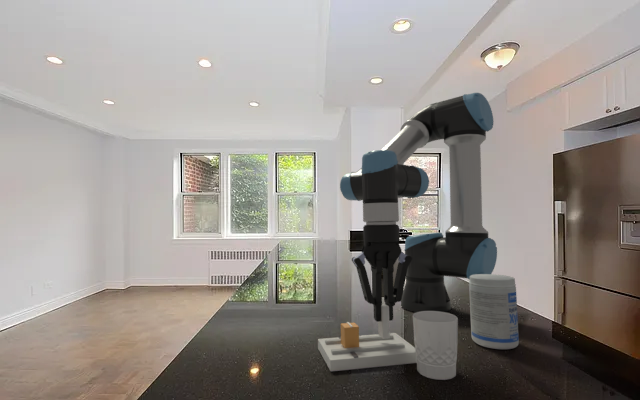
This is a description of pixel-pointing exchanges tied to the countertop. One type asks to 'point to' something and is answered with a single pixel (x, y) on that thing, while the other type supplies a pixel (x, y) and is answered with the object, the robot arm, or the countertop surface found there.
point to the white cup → (436, 344)
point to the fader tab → (349, 335)
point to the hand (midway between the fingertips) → (384, 336)
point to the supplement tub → (493, 311)
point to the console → (367, 352)
